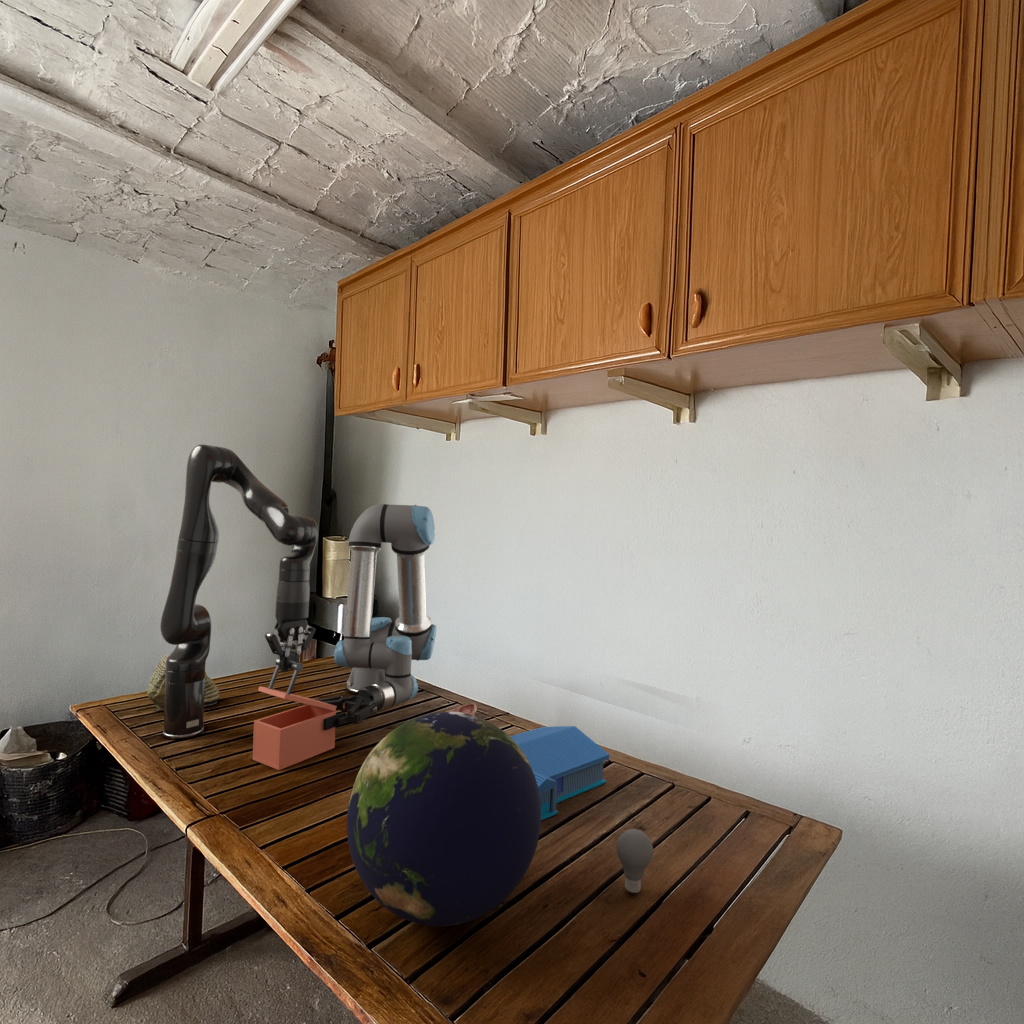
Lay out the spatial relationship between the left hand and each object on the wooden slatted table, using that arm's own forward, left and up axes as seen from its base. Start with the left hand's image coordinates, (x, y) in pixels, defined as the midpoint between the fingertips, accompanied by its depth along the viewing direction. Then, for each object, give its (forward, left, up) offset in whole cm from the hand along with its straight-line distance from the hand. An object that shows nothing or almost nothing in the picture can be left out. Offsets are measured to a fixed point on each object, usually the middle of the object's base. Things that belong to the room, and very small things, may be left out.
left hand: (288, 670), depth 152 cm
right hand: (-2, +7, -14) cm, 16 cm away
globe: (+69, -5, -21) cm, 72 cm away
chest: (-1, +3, -21) cm, 21 cm away
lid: (-1, +3, -8) cm, 9 cm away
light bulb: (+86, +22, -21) cm, 91 cm away
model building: (+48, +32, -21) cm, 61 cm away
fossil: (-52, -8, -21) cm, 57 cm away
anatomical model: (+4, +48, -21) cm, 52 cm away
